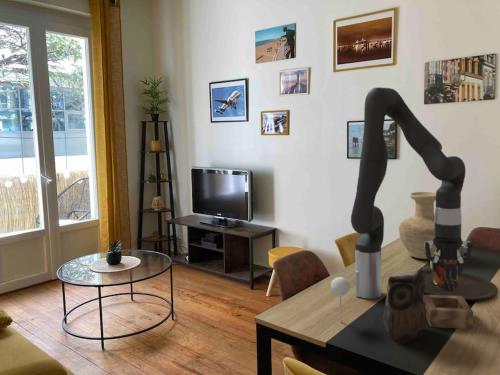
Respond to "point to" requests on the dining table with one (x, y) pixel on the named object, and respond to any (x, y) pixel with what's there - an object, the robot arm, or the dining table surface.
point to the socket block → (448, 311)
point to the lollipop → (340, 288)
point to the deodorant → (447, 266)
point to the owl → (405, 305)
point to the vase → (419, 225)
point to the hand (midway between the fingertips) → (447, 273)
